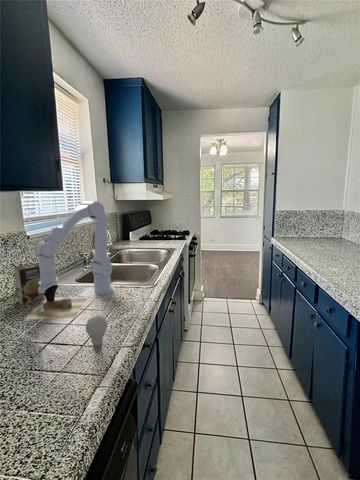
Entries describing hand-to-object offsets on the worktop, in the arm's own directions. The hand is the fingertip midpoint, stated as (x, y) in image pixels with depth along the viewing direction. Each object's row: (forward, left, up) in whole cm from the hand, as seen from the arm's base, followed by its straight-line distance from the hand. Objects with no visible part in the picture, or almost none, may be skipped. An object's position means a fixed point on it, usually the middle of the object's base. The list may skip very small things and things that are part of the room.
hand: (50, 303), depth 102 cm
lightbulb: (+29, +25, -3) cm, 39 cm away
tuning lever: (+1, +2, -2) cm, 3 cm away
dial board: (-1, +3, -3) cm, 4 cm away
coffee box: (-9, -12, -3) cm, 16 cm away
